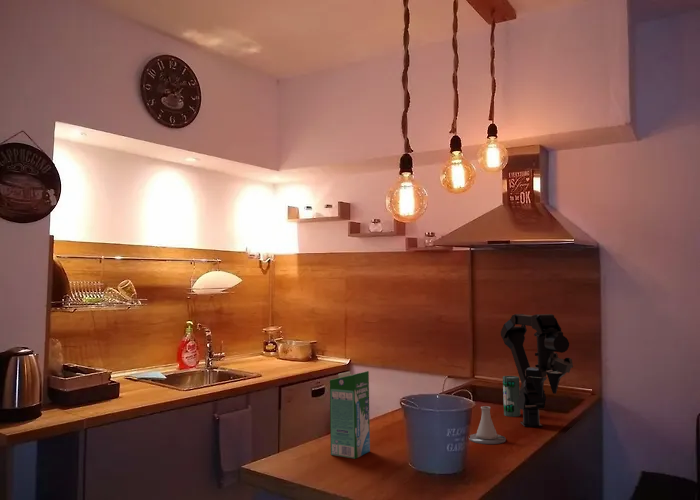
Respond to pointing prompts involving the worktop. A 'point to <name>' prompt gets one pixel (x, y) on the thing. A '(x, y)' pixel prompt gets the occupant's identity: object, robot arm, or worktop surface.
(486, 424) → the flask
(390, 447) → the worktop surface
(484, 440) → the slate coaster
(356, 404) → the milk carton
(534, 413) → the robot arm
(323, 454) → the worktop surface
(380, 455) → the worktop surface
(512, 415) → the can
